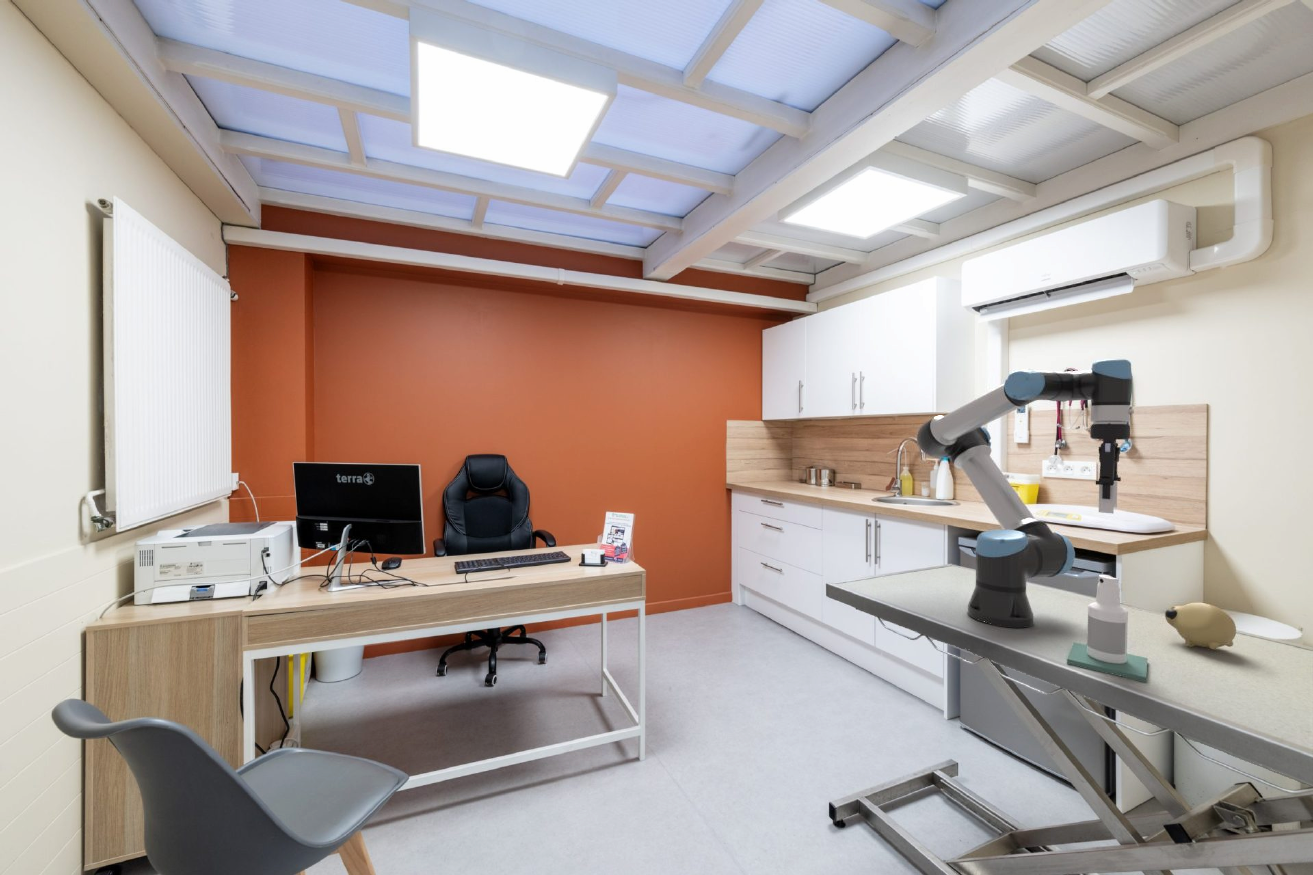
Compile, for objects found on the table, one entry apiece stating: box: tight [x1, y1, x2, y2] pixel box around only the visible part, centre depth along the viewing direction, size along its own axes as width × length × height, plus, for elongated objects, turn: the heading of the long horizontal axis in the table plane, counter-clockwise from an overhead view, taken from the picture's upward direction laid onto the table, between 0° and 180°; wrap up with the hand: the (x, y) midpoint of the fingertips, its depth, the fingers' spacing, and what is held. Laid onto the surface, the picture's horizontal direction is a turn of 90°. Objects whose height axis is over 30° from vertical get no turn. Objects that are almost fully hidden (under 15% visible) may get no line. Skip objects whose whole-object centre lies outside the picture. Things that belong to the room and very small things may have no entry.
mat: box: [1066, 642, 1148, 683], centre depth 121 cm, size 13×13×1 cm
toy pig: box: [1164, 602, 1237, 650], centre depth 131 cm, size 10×12×11 cm
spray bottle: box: [1086, 574, 1129, 664], centre depth 121 cm, size 7×7×18 cm
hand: (1107, 509), depth 135 cm, fingers open, 13 cm apart
